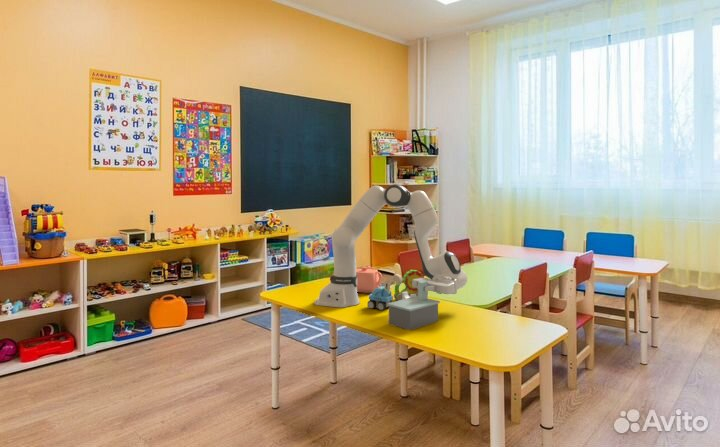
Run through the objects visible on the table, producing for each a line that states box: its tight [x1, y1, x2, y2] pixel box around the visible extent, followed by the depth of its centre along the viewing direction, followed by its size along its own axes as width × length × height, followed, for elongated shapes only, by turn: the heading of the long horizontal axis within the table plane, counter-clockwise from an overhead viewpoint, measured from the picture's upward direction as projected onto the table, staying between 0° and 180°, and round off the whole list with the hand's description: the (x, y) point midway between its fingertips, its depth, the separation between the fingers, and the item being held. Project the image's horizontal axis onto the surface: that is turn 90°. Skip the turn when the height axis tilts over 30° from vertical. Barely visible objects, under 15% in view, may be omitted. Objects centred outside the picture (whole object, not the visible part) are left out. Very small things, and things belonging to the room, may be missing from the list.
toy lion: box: [393, 269, 425, 301], centre depth 234 cm, size 16×5×15 cm, turn 108°
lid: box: [387, 281, 441, 311], centre depth 193 cm, size 13×19×9 cm
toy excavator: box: [367, 273, 403, 312], centre depth 216 cm, size 9×17×17 cm, turn 58°
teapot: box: [356, 265, 383, 294], centre depth 255 cm, size 20×19×14 cm
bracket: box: [402, 291, 430, 300], centre depth 220 cm, size 13×7×8 cm, turn 122°
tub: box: [388, 303, 439, 331], centre depth 194 cm, size 12×18×8 cm, turn 132°
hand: (421, 288), depth 197 cm, fingers open, 2 cm apart
